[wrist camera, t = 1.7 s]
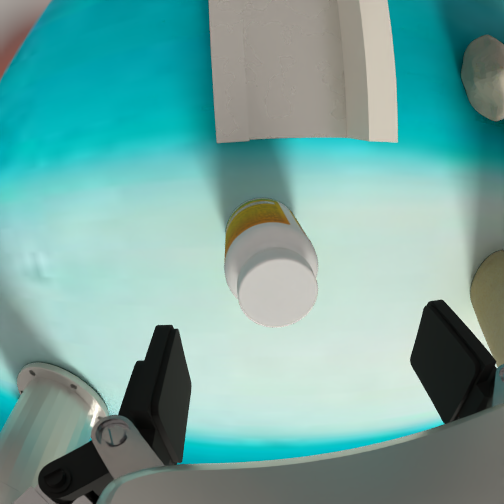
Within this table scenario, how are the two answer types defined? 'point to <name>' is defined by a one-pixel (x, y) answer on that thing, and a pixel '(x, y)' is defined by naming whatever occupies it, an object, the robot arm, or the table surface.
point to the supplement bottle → (270, 263)
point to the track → (303, 69)
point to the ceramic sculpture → (485, 76)
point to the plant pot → (490, 302)
